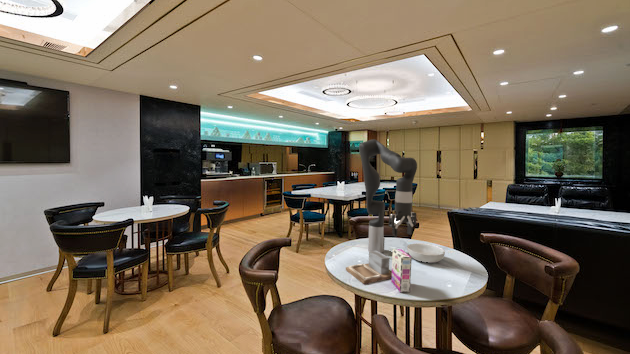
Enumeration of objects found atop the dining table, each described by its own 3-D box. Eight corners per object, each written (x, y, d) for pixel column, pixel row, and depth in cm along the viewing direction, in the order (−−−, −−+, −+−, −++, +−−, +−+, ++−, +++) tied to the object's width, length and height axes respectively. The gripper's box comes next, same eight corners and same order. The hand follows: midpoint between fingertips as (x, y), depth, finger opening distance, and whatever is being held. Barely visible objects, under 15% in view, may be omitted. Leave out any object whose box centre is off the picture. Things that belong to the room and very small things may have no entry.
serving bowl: (440, 255, 165) (441, 244, 164) (447, 269, 145) (448, 256, 144) (405, 251, 170) (406, 241, 170) (407, 264, 150) (408, 252, 150)
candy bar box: (410, 292, 118) (412, 257, 117) (400, 293, 118) (401, 257, 117) (400, 281, 130) (401, 248, 128) (390, 281, 129) (392, 248, 128)
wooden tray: (376, 264, 149) (377, 248, 148) (396, 277, 134) (397, 259, 133) (345, 270, 141) (346, 252, 141) (363, 284, 126) (363, 265, 125)
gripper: (409, 198, 127) (408, 231, 128) (385, 200, 122) (384, 234, 123) (421, 201, 120) (420, 235, 121) (396, 202, 115) (395, 239, 116)
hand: (402, 235), depth 122 cm, fingers open, 8 cm apart
